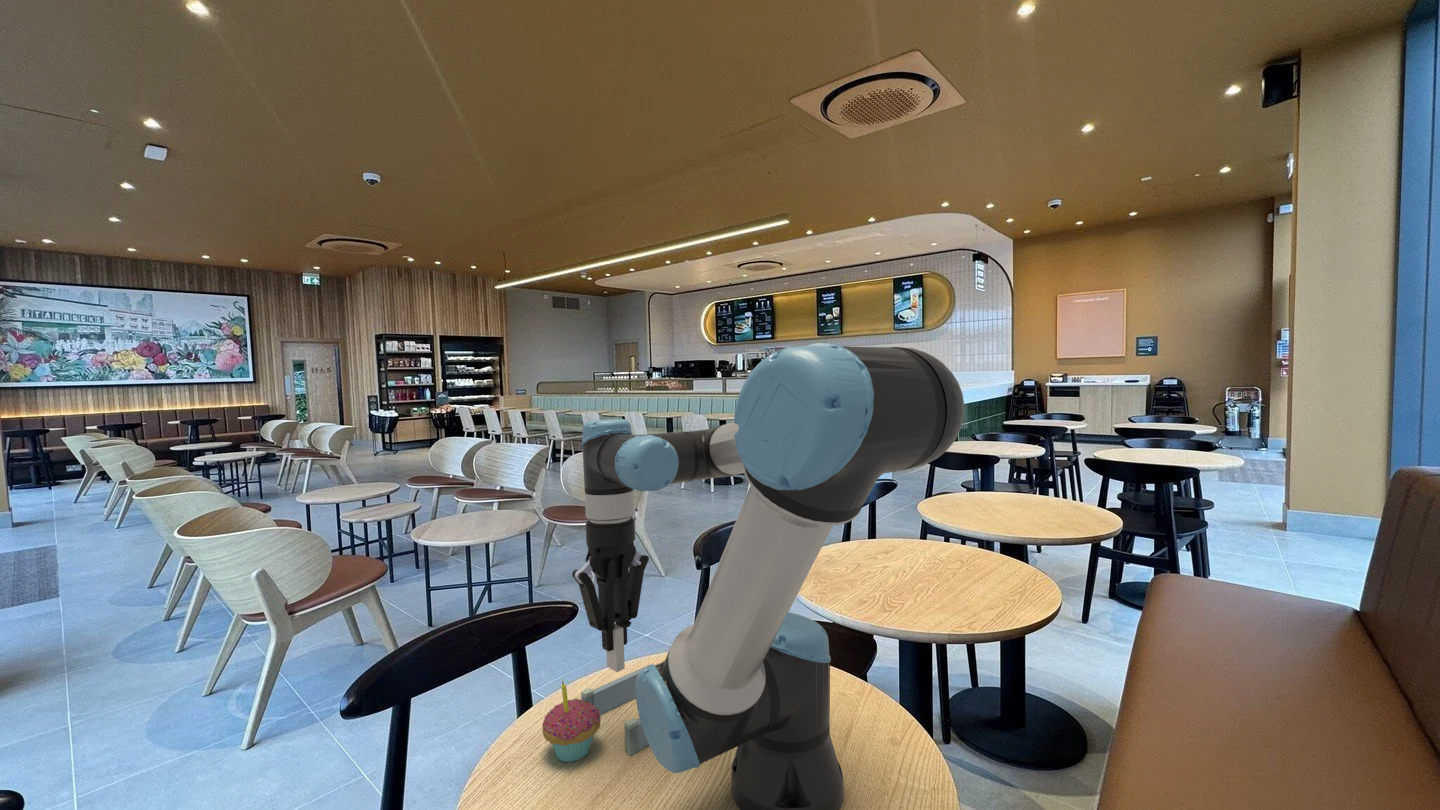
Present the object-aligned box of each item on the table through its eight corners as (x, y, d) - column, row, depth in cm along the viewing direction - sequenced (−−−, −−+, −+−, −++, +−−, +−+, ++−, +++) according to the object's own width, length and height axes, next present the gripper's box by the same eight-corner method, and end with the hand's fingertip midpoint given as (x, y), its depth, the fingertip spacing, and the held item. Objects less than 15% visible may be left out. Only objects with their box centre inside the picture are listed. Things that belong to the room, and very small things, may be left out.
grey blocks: (699, 716, 96) (699, 688, 96) (630, 755, 86) (629, 725, 86) (649, 686, 105) (649, 661, 105) (582, 718, 96) (581, 691, 95)
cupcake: (583, 775, 82) (581, 692, 81) (530, 765, 84) (528, 684, 84) (610, 738, 90) (608, 663, 90) (562, 730, 93) (560, 656, 92)
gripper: (630, 508, 98) (635, 647, 98) (560, 522, 89) (566, 675, 89) (658, 514, 92) (663, 660, 93) (586, 529, 83) (592, 692, 84)
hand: (615, 667), depth 91 cm, fingers closed
